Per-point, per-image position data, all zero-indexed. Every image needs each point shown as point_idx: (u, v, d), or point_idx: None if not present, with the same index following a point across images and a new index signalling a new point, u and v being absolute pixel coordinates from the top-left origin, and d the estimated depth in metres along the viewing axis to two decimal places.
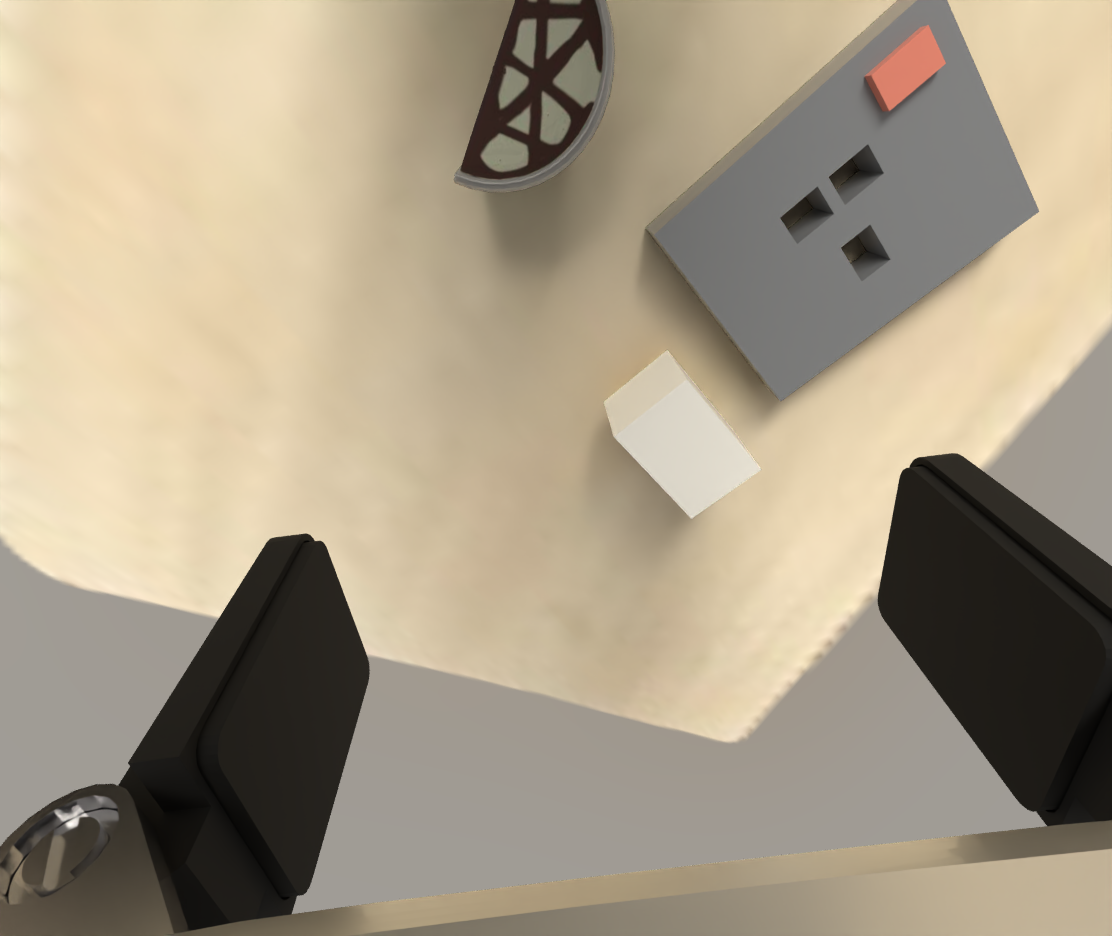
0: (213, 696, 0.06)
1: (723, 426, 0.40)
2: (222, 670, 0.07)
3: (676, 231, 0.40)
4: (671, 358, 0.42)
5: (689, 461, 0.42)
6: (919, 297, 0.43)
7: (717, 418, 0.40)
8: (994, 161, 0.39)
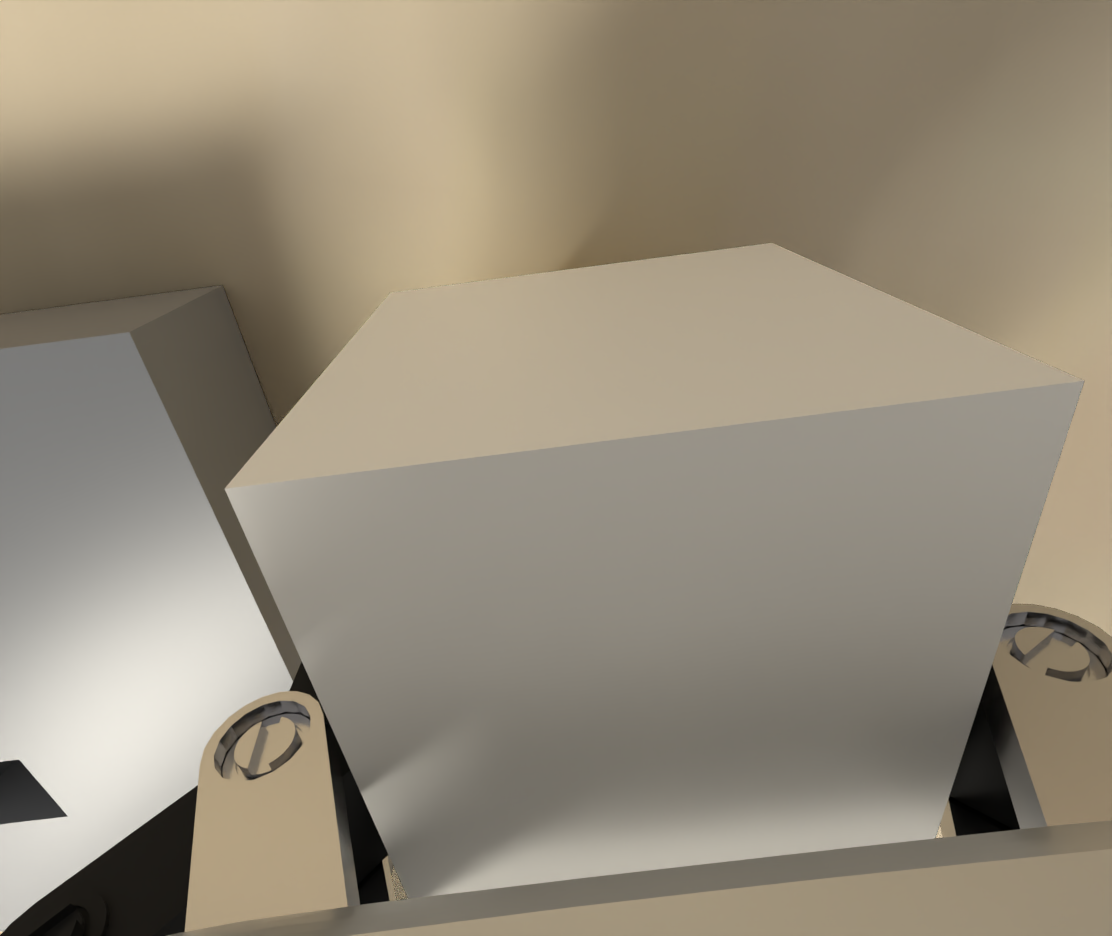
0: None
1: (399, 851, 0.06)
2: None
3: None
4: None
5: (700, 785, 0.06)
6: None
7: (412, 891, 0.07)
8: None
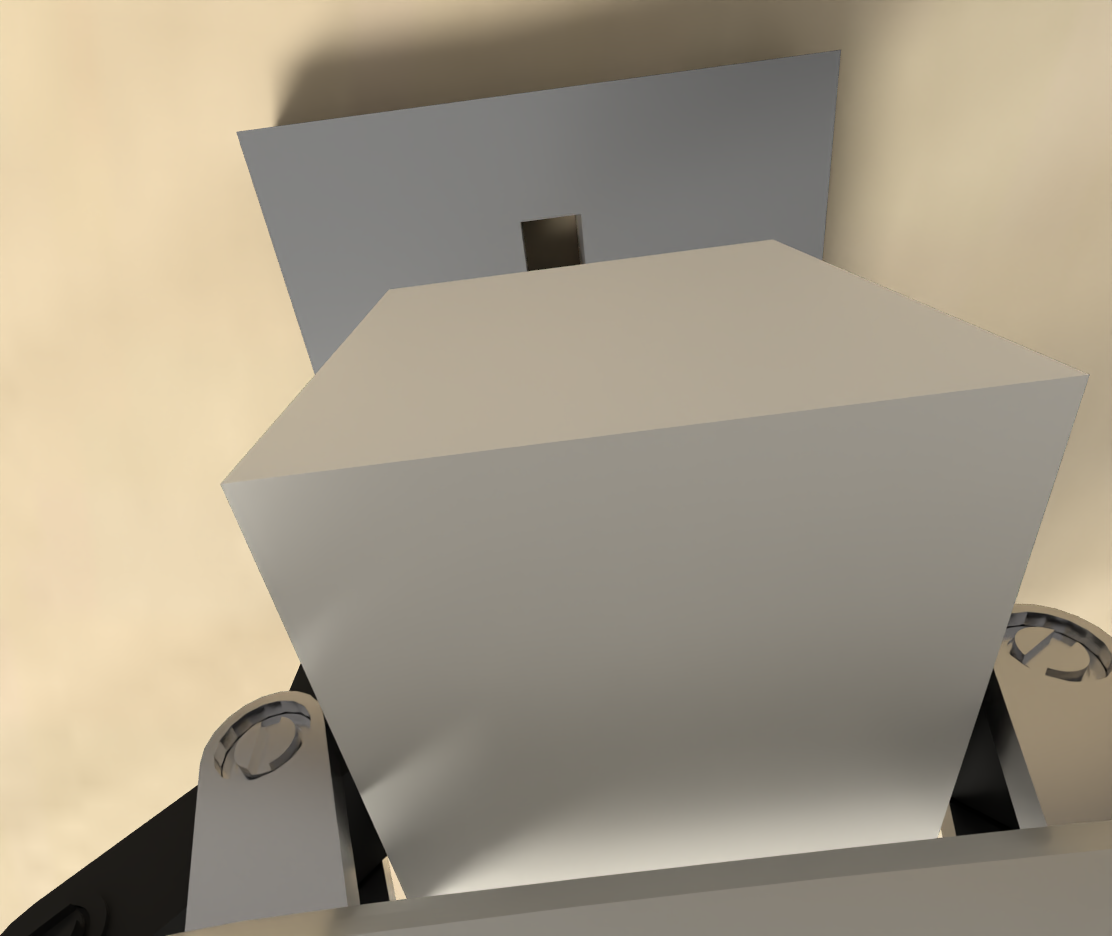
0: None
1: (398, 851, 0.06)
2: None
3: None
4: None
5: (701, 784, 0.06)
6: (492, 101, 0.20)
7: (411, 891, 0.07)
8: (315, 280, 0.22)
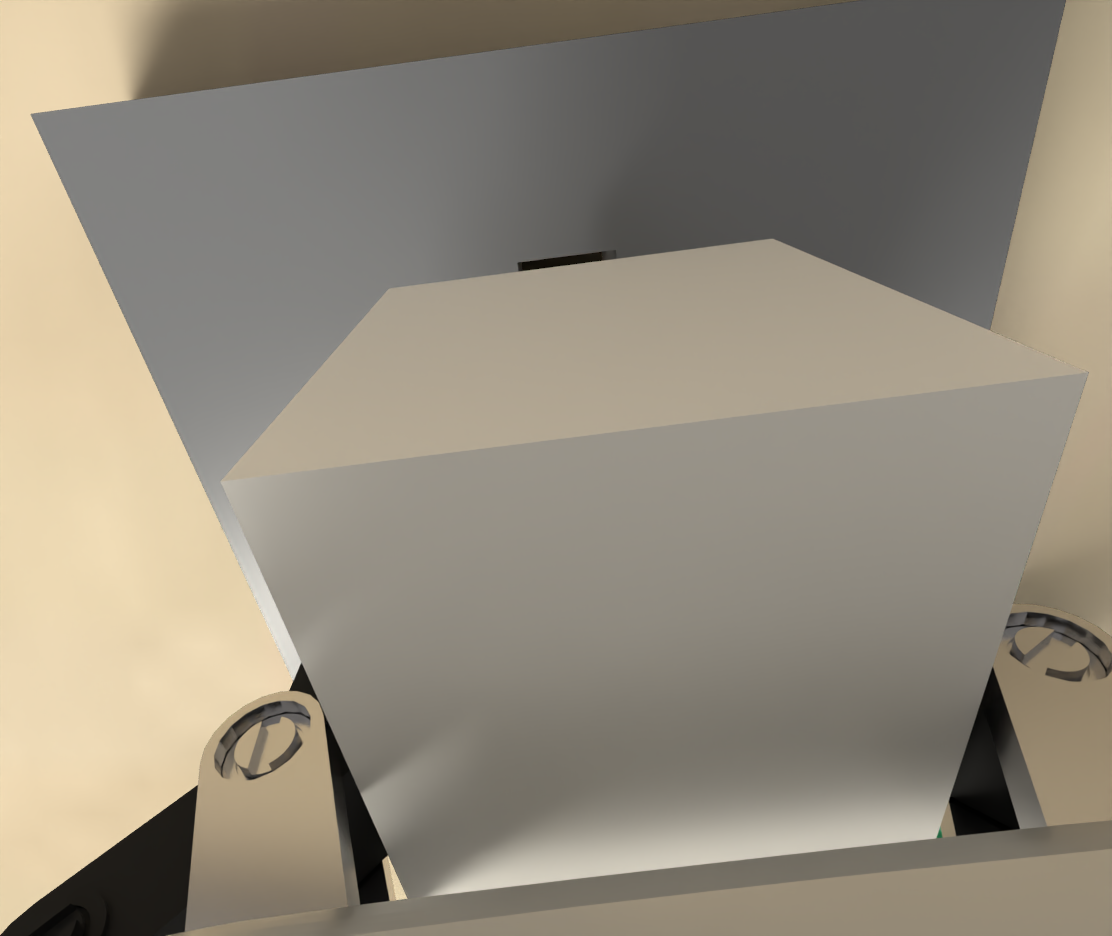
0: None
1: (398, 849, 0.06)
2: None
3: None
4: None
5: (700, 781, 0.06)
6: (469, 62, 0.12)
7: (411, 889, 0.07)
8: (191, 352, 0.14)
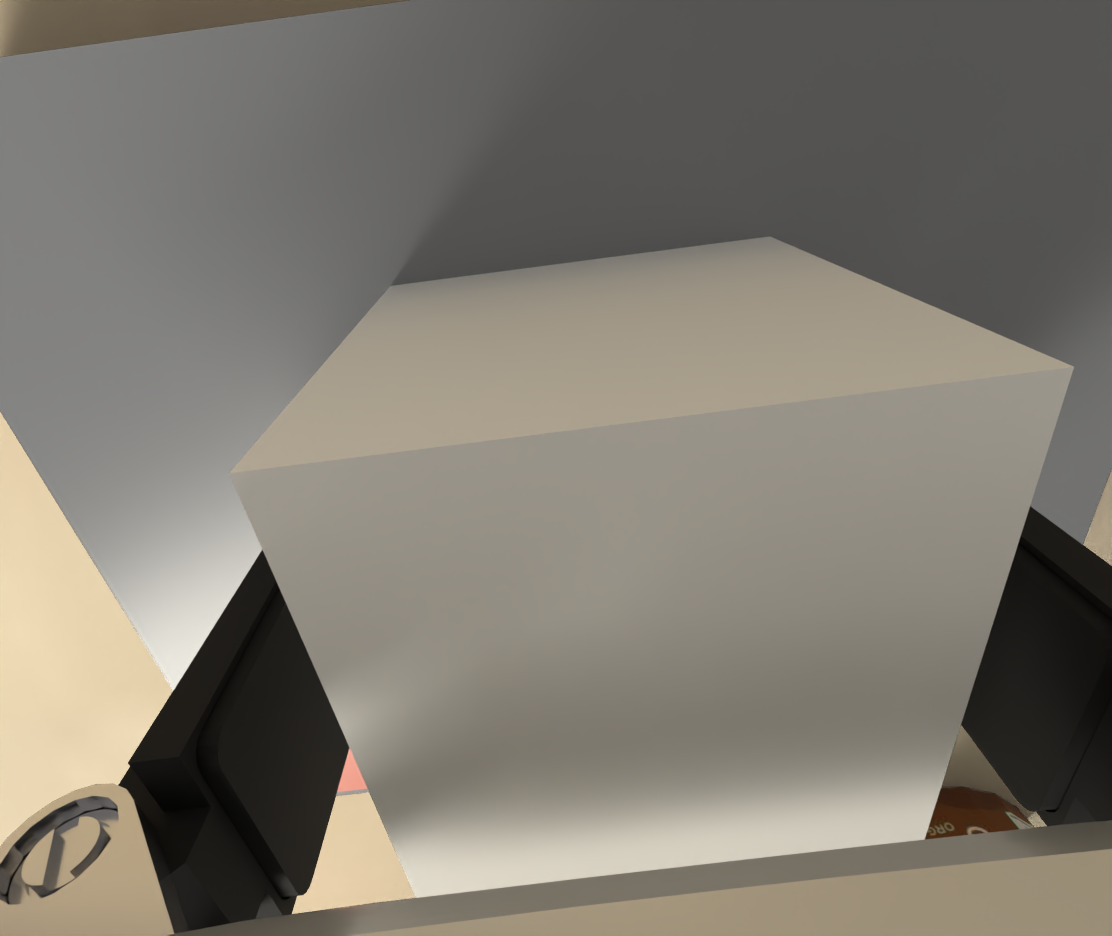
0: (212, 696, 0.06)
1: (400, 836, 0.07)
2: (222, 670, 0.07)
3: None
4: None
5: (697, 769, 0.06)
6: (441, 8, 0.08)
7: (413, 875, 0.07)
8: (72, 415, 0.10)
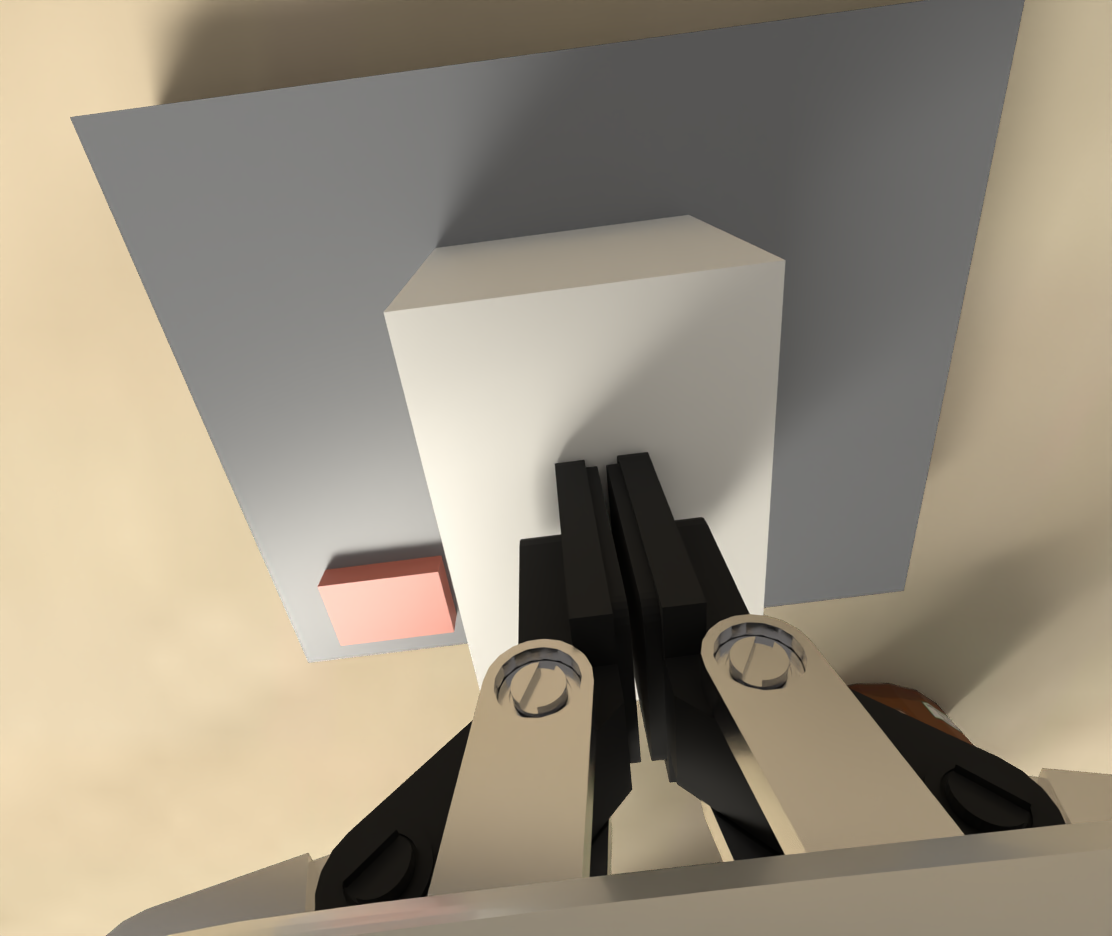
0: (605, 573, 0.07)
1: (452, 557, 0.11)
2: (596, 556, 0.08)
3: (869, 575, 0.20)
4: None
5: None
6: (473, 69, 0.13)
7: (458, 589, 0.12)
8: (214, 339, 0.15)
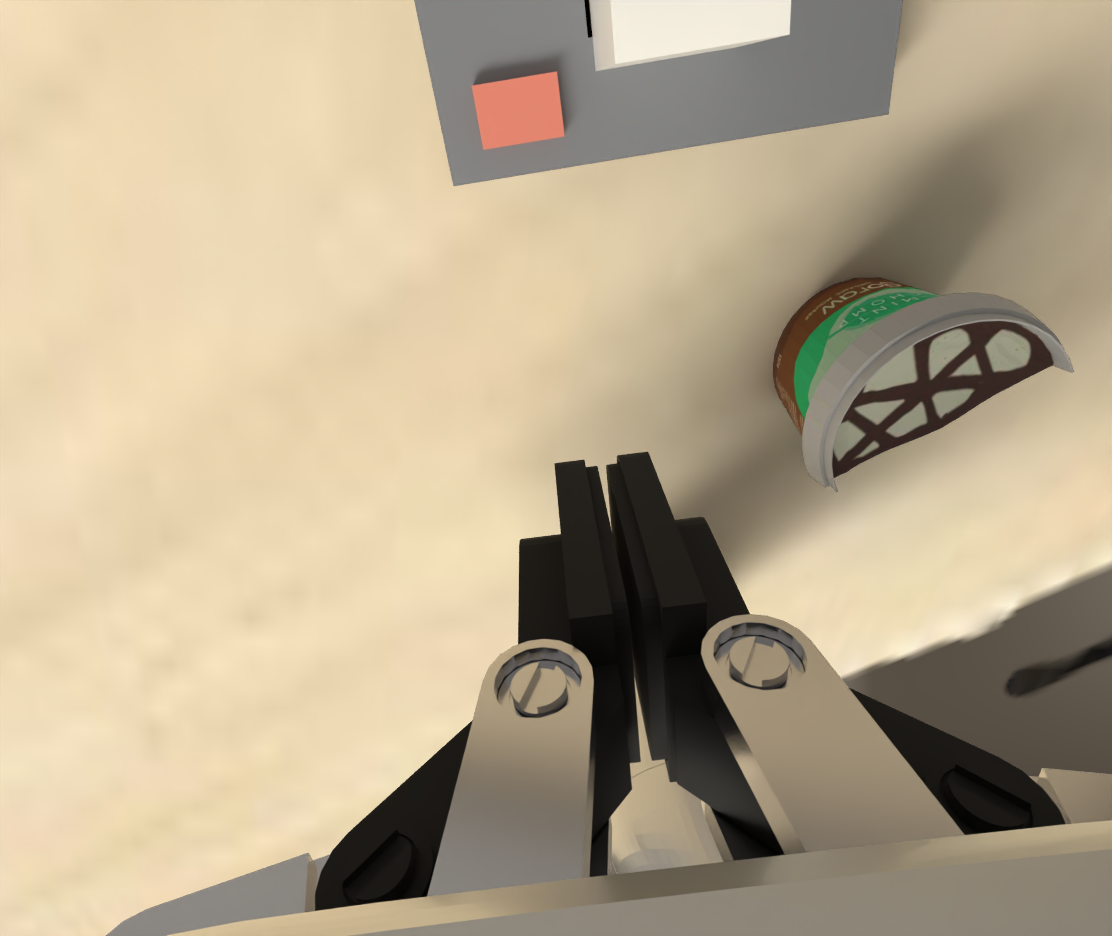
0: (605, 573, 0.07)
1: None
2: (596, 556, 0.08)
3: (863, 97, 0.27)
4: (602, 68, 0.24)
5: None
6: None
7: None
8: None
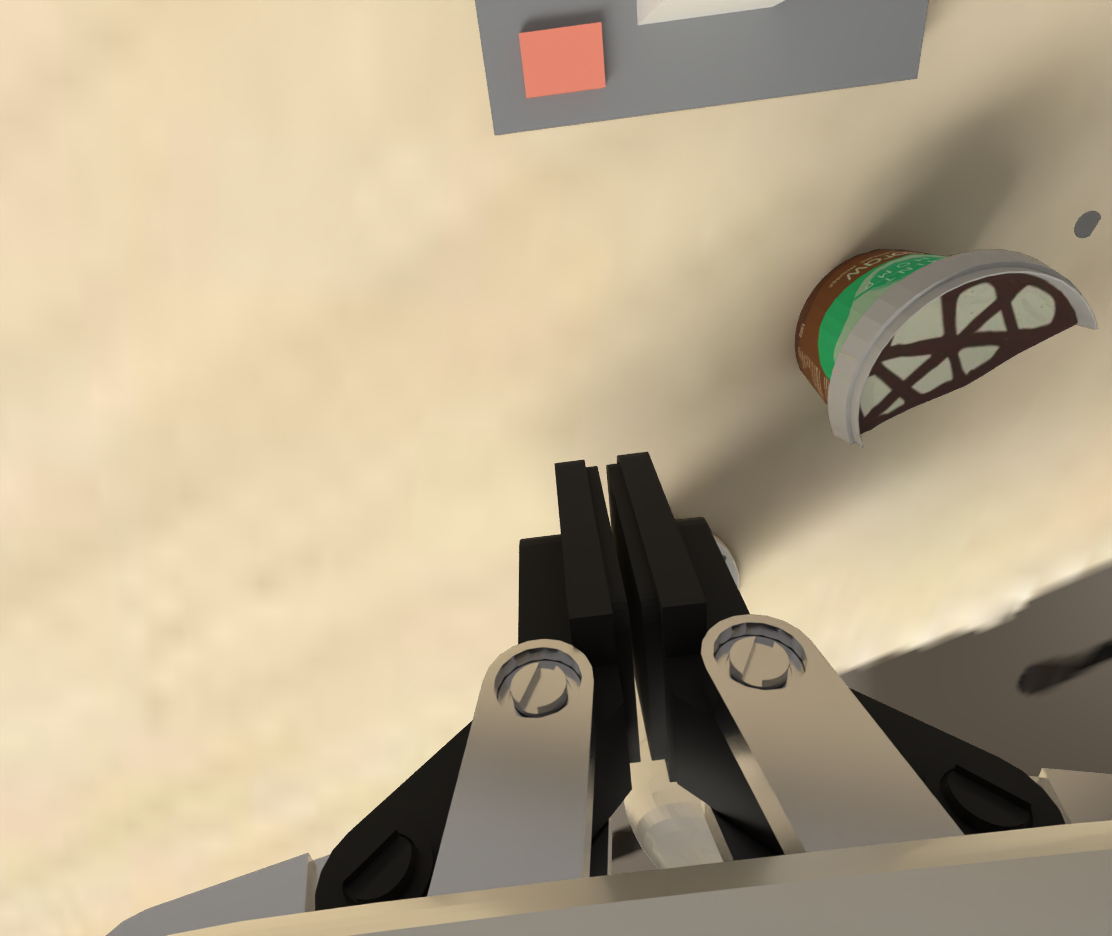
0: (605, 573, 0.07)
1: None
2: (596, 556, 0.08)
3: (893, 61, 0.28)
4: (646, 18, 0.25)
5: None
6: None
7: None
8: None
